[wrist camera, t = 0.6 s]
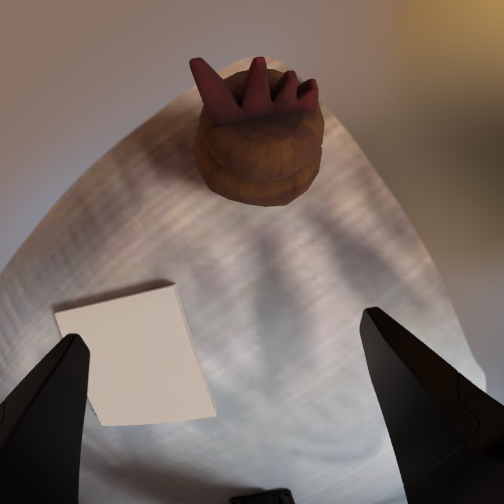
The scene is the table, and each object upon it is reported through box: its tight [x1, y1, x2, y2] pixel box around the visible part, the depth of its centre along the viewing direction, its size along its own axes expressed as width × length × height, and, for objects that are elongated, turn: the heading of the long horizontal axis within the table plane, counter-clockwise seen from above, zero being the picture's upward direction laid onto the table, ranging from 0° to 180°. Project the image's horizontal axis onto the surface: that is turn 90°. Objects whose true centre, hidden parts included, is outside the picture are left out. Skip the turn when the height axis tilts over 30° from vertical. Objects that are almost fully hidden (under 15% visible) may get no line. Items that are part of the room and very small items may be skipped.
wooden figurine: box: [189, 57, 325, 207], centre depth 13 cm, size 7×6×15 cm
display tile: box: [54, 283, 218, 426], centre depth 21 cm, size 11×11×1 cm
